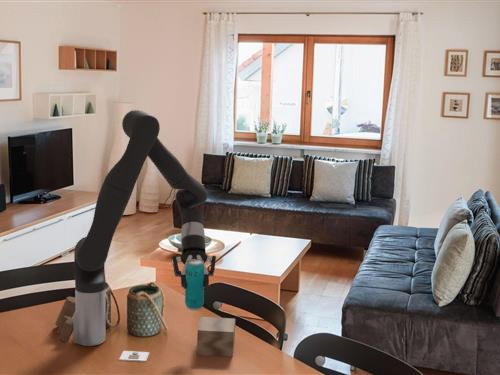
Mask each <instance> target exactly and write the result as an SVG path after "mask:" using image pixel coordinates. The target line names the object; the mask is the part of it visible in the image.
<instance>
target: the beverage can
mask: <svg viewBox="0 0 500 375" xmlns="http://www.w3.org/2000/svg"><path fill="white" fill-rule="evenodd" d="M204 264H205V263H204ZM204 264H203V261H202V260H200V259H190V260H187V264H186V269H185V276H186V289H184V294H185V295H184V304H185V307H186V308H187V309H188V310H189V311H199V310H201V309H202V308H203V305H204V304H205V302H204V301H205V300H204V299H205V295H204V294H205V288H204Z"/></svg>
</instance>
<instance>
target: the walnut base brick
mask: <svg viewBox="0 0 500 375" xmlns="http://www.w3.org/2000/svg"><path fill="white" fill-rule="evenodd" d="M235 336H236V318H230V317H229V318H228V317H212V316H211V317H210V316H209V317H208V316H201V317H200V319H199V324H198V328H197V336H196V337H197V339H196V341H197V342H196V356H210V357H211V356H213V357H228V358H229V357H231V358H233V356H234V348H235V339H236V338H235Z"/></svg>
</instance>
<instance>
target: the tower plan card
mask: <svg viewBox="0 0 500 375" xmlns="http://www.w3.org/2000/svg"><path fill="white" fill-rule="evenodd" d="M149 355H150V351H133V350H123V351H122V352H121V355H120V356H119V358H118V361H125V362H127V361H128V362H129V361H130V362H145V363H146V362H147V361H148V357H149Z"/></svg>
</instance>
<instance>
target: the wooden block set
mask: <svg viewBox="0 0 500 375" xmlns="http://www.w3.org/2000/svg"><path fill="white" fill-rule="evenodd" d="M74 313H75V296H67V297H66V298H65V300H64V303H63V305H62V307H61V310H60V312H59V314H58V316H57V318H56V321H55V326H56V327H57V331H56V333H57V334H58V340H61V341H63V342H64V343H68V341H69V340H70V338H71V336H72V335H73V334H72V333H73V315H74Z"/></svg>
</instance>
